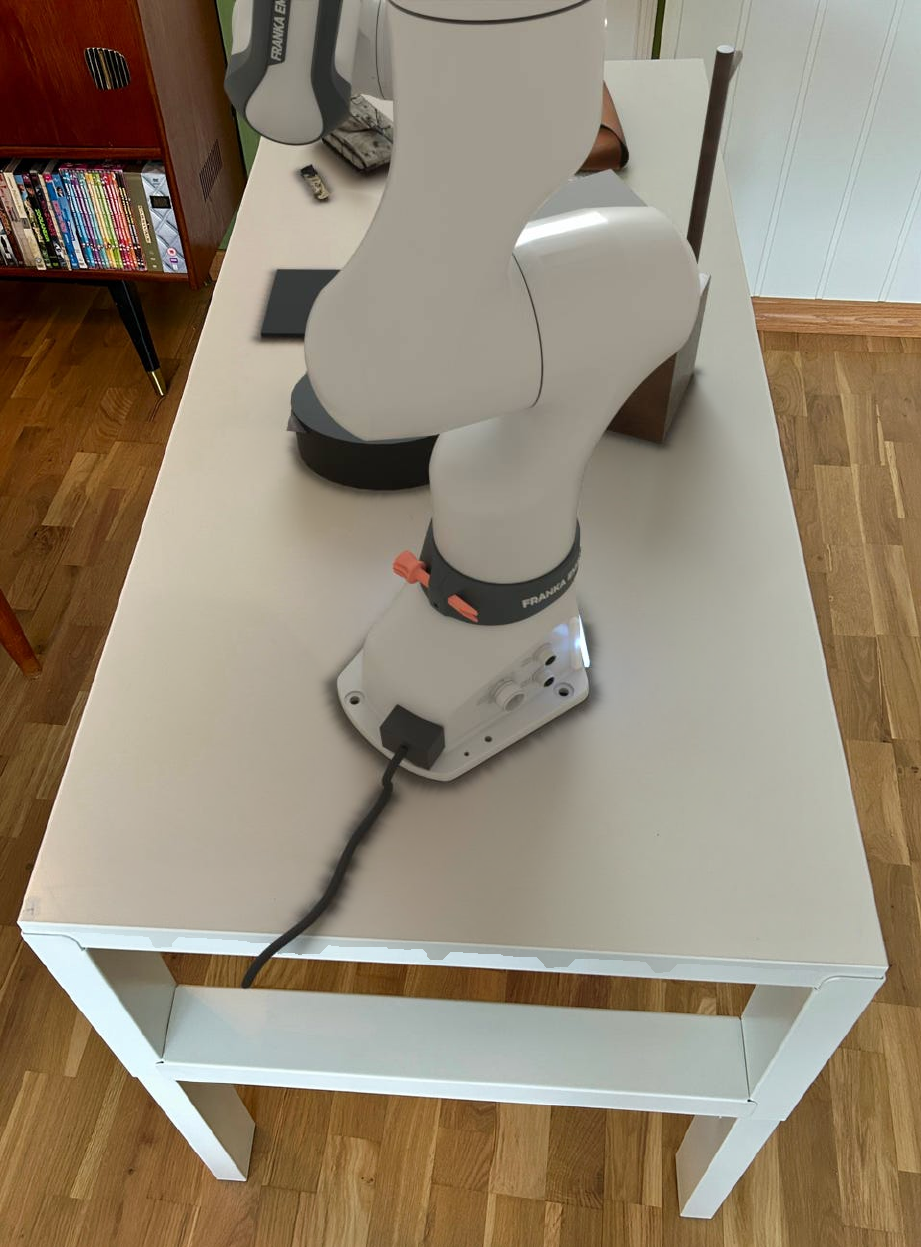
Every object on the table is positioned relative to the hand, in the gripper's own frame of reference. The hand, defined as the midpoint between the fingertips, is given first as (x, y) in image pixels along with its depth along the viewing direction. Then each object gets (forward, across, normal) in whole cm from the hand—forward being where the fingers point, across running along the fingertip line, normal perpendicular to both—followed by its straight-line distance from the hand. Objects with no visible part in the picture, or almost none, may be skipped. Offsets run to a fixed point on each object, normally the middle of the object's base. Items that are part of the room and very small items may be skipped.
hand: (577, 54), depth 92 cm
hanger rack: (+7, -6, +32) cm, 33 cm away
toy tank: (-30, +36, +32) cm, 57 cm away
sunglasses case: (-2, +45, +32) cm, 55 cm away
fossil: (-38, +28, +32) cm, 57 cm away
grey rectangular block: (-7, +17, +30) cm, 35 cm away
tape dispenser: (-16, -17, +32) cm, 39 cm away
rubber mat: (-28, +4, +32) cm, 43 cm away
